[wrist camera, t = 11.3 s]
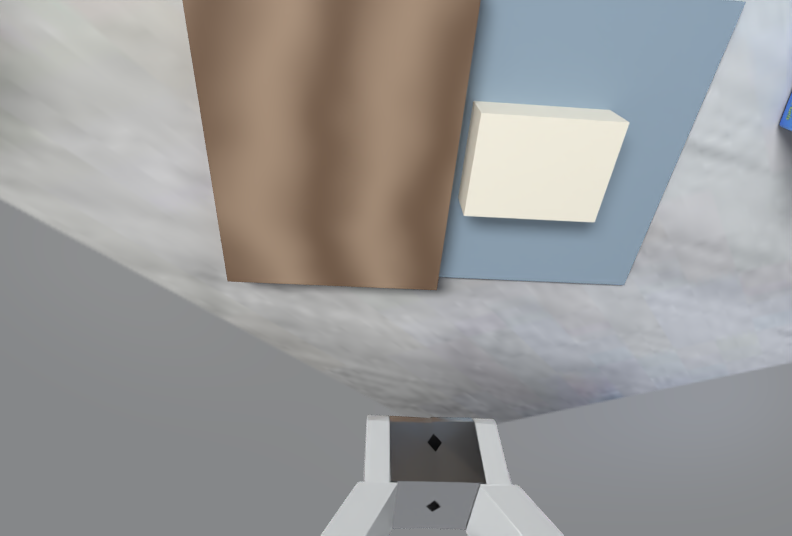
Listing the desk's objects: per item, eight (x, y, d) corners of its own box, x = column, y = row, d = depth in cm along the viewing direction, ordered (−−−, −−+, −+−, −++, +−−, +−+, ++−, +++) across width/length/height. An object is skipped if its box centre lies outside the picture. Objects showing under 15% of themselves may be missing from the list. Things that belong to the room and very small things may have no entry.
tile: (609, 110, 26) (629, 122, 24) (579, 204, 30) (594, 222, 28) (473, 100, 26) (481, 112, 24) (457, 197, 29) (463, 215, 27)
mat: (740, 1, 24) (745, 1, 23) (621, 281, 34) (623, 285, 33) (476, -22, 23) (477, -22, 23) (433, 273, 33) (434, 276, 33)
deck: (476, -22, 23) (483, -21, 21) (433, 273, 33) (436, 290, 31) (190, -47, 22) (174, -47, 20) (235, 264, 32) (227, 281, 30)
